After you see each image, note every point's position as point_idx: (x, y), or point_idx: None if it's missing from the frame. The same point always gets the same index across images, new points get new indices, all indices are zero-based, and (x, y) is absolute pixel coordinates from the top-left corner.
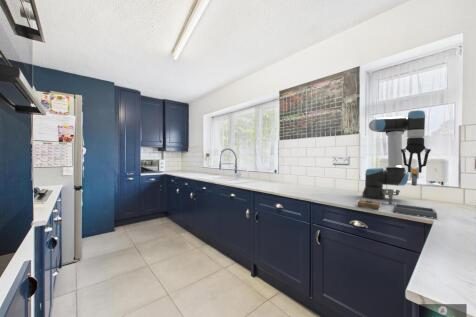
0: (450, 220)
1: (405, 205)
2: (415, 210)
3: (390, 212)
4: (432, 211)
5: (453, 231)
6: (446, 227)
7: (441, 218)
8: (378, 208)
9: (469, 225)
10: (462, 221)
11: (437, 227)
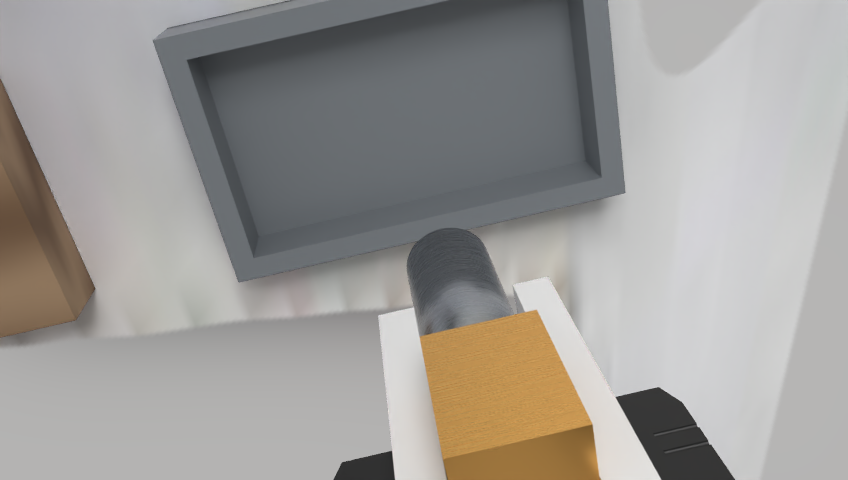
0: (705, 136)
1: (297, 34)
2: None
3: (226, 293)
4: (584, 61)
5: None
6: None
7: (642, 119)
8: (84, 282)
9: (815, 198)
10: (796, 80)
11: None
